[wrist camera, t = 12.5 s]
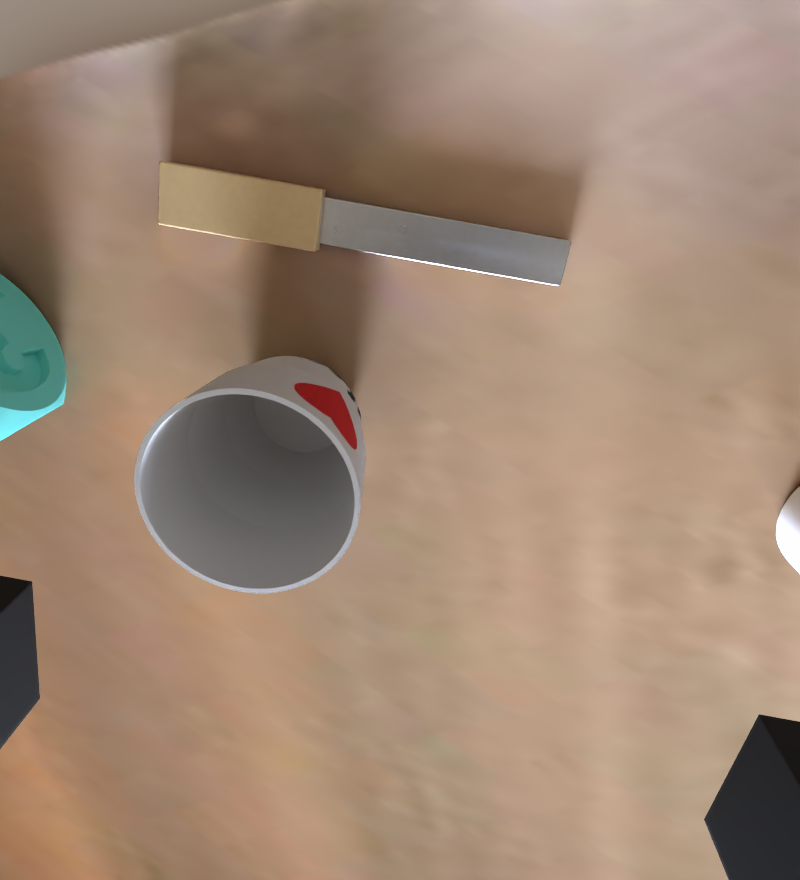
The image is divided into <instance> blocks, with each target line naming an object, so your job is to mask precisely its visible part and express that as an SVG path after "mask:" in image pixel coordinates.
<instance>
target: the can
mask: <svg viewBox="0 0 800 880" xmlns="http://www.w3.org/2000/svg"><path fill="white" fill-rule="evenodd" d="M776 538H777V543H778V546H779V548H780V550H781V552H782V554H783V555H784V557H785V558H786V559H787V560H788V562H789V563H790V564H791V565H792V566H793V567H794V568H795V569H796V570H797V572H798V573H799V574H800V486H799V487H798V488H797V489H796V490H795V491H794V492H793V493H792V494H791V495H790V496H789V498H788V499H787V501H786V502H785V504H784V506H783V508H782V510H781V512H780V514H779V517H778V521H777V526H776Z"/></svg>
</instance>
